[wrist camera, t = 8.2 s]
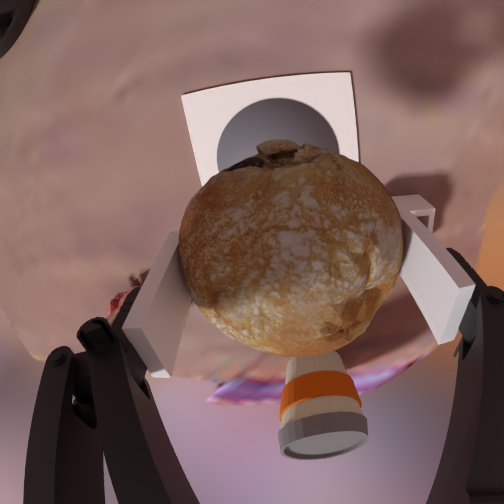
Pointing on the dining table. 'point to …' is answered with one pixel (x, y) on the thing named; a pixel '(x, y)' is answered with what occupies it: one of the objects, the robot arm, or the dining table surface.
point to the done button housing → (418, 208)
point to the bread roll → (291, 249)
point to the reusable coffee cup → (320, 409)
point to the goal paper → (270, 118)
